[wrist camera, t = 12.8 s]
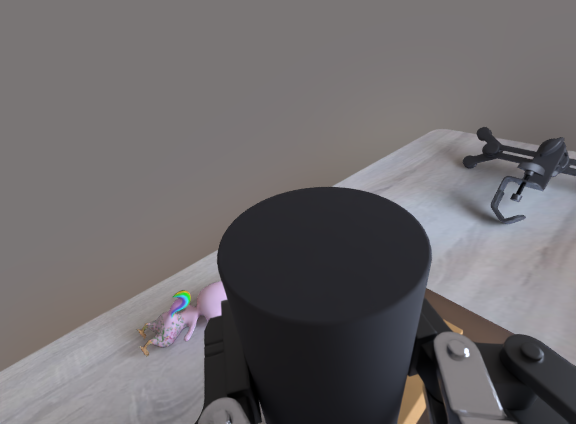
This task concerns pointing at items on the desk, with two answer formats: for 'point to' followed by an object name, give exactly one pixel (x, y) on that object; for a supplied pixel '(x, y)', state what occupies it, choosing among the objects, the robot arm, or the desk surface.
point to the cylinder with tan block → (329, 305)
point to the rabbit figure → (185, 315)
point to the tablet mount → (524, 166)
